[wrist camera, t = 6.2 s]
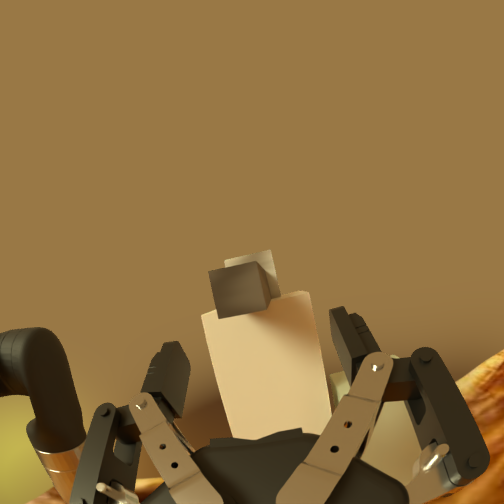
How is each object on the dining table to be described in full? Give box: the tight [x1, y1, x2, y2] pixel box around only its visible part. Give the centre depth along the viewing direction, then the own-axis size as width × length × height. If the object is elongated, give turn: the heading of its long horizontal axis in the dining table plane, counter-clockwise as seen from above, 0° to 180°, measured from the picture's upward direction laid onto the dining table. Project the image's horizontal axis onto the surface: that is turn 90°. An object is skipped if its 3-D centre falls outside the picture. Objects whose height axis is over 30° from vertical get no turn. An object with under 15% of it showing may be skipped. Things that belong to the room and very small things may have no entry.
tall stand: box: [201, 290, 332, 440], centre depth 26 cm, size 10×9×32 cm
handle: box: [209, 250, 281, 319], centre depth 25 cm, size 5×17×5 cm, turn 176°
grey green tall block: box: [330, 355, 422, 486], centre depth 21 cm, size 8×9×22 cm
